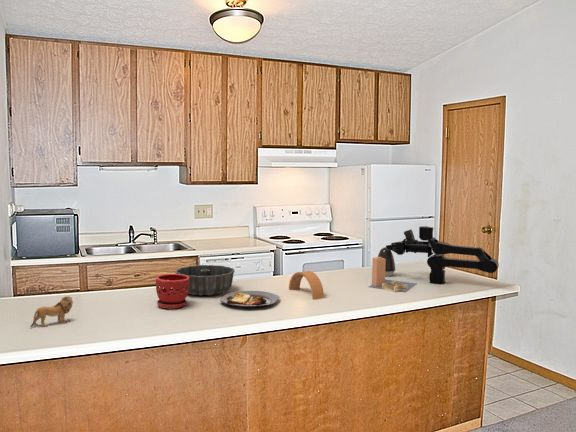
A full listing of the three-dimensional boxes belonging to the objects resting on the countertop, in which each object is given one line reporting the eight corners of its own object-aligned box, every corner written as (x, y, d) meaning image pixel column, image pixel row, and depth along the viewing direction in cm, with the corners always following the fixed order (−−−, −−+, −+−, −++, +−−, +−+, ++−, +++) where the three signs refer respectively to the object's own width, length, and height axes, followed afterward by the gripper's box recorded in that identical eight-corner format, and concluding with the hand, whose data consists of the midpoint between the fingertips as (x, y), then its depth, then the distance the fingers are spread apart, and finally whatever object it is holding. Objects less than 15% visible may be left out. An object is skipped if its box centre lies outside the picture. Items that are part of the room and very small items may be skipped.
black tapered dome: (397, 275, 261) (398, 246, 260) (390, 279, 252) (391, 249, 251) (379, 273, 266) (380, 245, 265) (371, 276, 258) (372, 247, 256)
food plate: (269, 312, 192) (269, 303, 192) (212, 309, 197) (212, 300, 197) (283, 297, 217) (283, 289, 217) (232, 295, 221) (232, 287, 221)
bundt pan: (198, 282, 241) (198, 262, 240) (245, 288, 230) (245, 267, 229) (162, 294, 218) (162, 272, 217) (212, 302, 206) (212, 278, 205)
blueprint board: (417, 284, 241) (417, 283, 241) (405, 293, 224) (405, 292, 224) (382, 280, 250) (382, 279, 250) (367, 288, 233) (367, 287, 233)
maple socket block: (394, 286, 235) (394, 281, 234) (407, 289, 228) (407, 284, 228) (382, 288, 230) (382, 283, 230) (394, 292, 224) (395, 287, 223)
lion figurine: (69, 317, 183) (69, 294, 182) (76, 321, 180) (75, 296, 179) (27, 326, 172) (26, 301, 172) (33, 330, 169) (32, 304, 168)
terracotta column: (380, 284, 239) (381, 256, 238) (384, 286, 235) (385, 257, 233) (371, 284, 238) (372, 256, 236) (376, 286, 233) (377, 258, 232)
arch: (312, 300, 212) (313, 277, 211) (288, 289, 229) (288, 268, 228) (324, 298, 215) (324, 275, 214) (299, 288, 232) (299, 267, 231)
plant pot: (170, 312, 191) (170, 281, 190) (149, 306, 199) (148, 277, 198) (196, 305, 202) (196, 276, 200) (175, 299, 209) (174, 271, 208)
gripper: (423, 228, 256) (393, 227, 264) (414, 233, 240) (383, 231, 247) (423, 250, 257) (393, 248, 265) (414, 255, 241) (383, 253, 248)
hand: (388, 245), depth 256 cm, fingers open, 9 cm apart
